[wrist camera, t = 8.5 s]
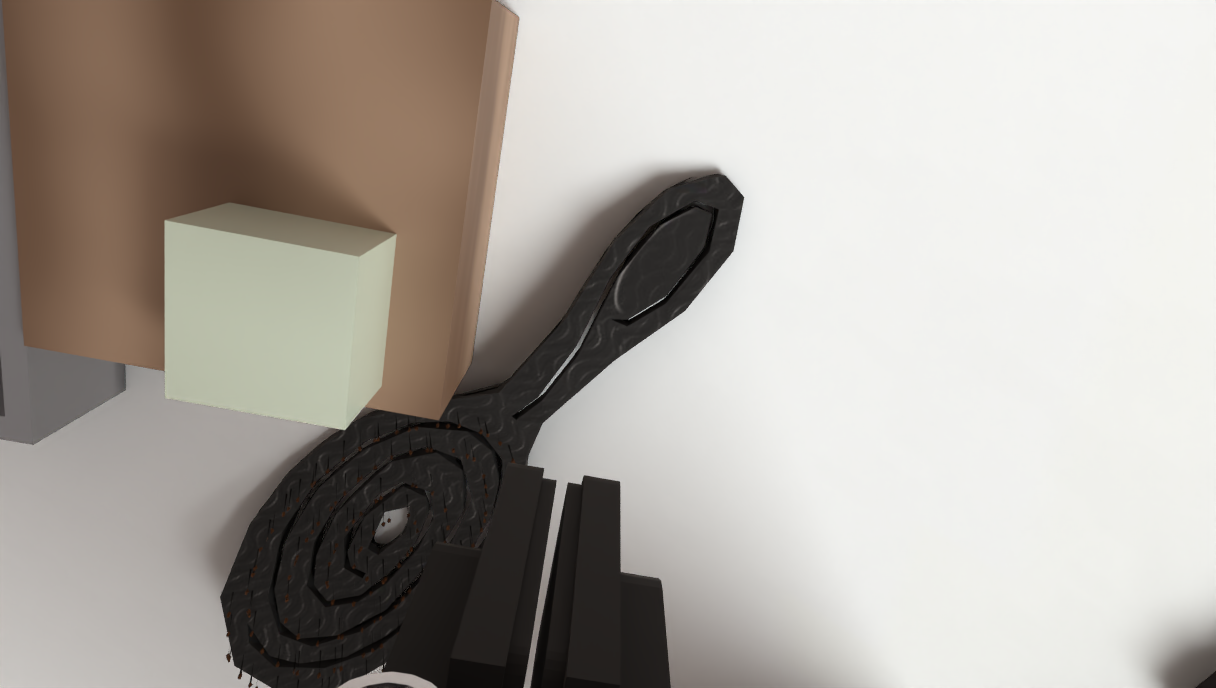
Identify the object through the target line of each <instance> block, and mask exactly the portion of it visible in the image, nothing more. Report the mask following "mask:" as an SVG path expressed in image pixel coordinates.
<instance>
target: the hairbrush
mask: <svg viewBox="0 0 1216 688" xmlns="http://www.w3.org/2000/svg"><path fill="white" fill-rule="evenodd" d="M689 179H690V178H689ZM686 180H688V179H686ZM686 180H684V181H682V182H680V183H678V184H676V185H674V186H672V187H670V188H668V189H666V190H665V191H663V192H662V193H661V194H660V195H659V196H658V197H656V198H655V199H654V200H653V201H652V202H651V203H649V204H648V205H647V206H646V207H645V208H643V209H642V210H641V211H640V212H639V213H638V214H637V215H636V216H635V217H634V218H633V219H632V220H631V221H630V222H629V224H628V225H627V226H626V227H625V228H624V229H623V230H622V231H621V232H620V233H619V234H618V235H617V237H616V238H615V239H614V240H613V242H612V243H611V244H610V246H609V247H608V248H607V250H606V251H605V253H604V254H603V256H602V258H601V259H600V261H599V263H598V264H597V266H596V267H595V269H594V270H593V272H592V273H591V275H590V276H589V278H588V279H587V281H586V282H585V284H584V285H583V287H582V289H581V290H580V292H579V294H578V295H577V297H576V298H575V300H574V302H573V303H572V305H571V307H570V308H569V310H568V311H567V313H566V315H565V316H564V317H563V319H562V320H561V321H560V322H559V324H558V325H557V326H556V327H555V328H554V329H553V330H552V331H551V332H550V334H549V335H548V336H547V337H546V338H545V339H544V340H543V341H542V343H541V344H540V345H539V346H538V347H537V348H536V349H535V350H534V352H533V353H532V354H531V355H530V356H529V357H528V358H527V359H526V361H525V362H524V363H523V364H522V365H521V366H520V367H519V368H518V370H517V371H516V372H515V373H514V374H513V375H512V376H511V377H510V378H509V379H507V380H506V381H505V382H503V383H501V384H497V385H493V386H490V387H486V388H482V389H478V390H474V391H471V392H467V393H463V394H456V395H453V396H452V398H451V400H450V401H449V403H448V405H447V407H446V408H445V410H444V412H443V414H442V415H441V417H440V419H439V420H434V419H429V418H423V417H418V416H412V415H407V414H401V413H395V412H390V411H384V410H377V411H373V412H371V413H369V414H368V415H366V416H364V417H362V418H360V419H358V420H357V421H355V422H353V423H352V424H350V425H349V426H348V427H347V428H346V430H340V431H338V432H337V433H335V434H333V435H332V436H330V437H329V438H328V439H326V440H325V441H323V442H322V443H321V444H319V445H318V446H317V447H316V448H315V449H314V450H313V451H312V452H311V453H309V454H308V455H307V456H306V457H305V458H304V459H303V460H302V461H301V462H299V463H298V464H297V465H296V466H295V467H294V468H293V469H292V470H291V471H290V472H289V473H288V474H287V475H286V476H285V478H284V479H283V480H282V482H281V483H280V484H279V486H278V487H277V488H276V490H275V491H274V492H273V494H272V495H271V497H270V498H269V499H268V501H267V502H266V503H265V504H264V506H263V507H262V508H261V509H260V510H259V513H258V514H257V516H256V517H255V518H254V520H253V521H252V522H251V524H250V525H249V528H248V530H247V533H246V535H245V538H244V540H243V543H242V545H241V547H240V550H239V552H238V555H237V557H236V560H235V562H234V565H233V567H232V570H231V572H230V574H229V577H228V579H227V582H226V584H225V587H224V589H223V592H222V594H221V596H220V598H221V603H222V608H223V613H224V617H225V622H226V627H227V632H228V633H227V635H226V636H227V637H229V642H230V646H231V651H232V656H233V661H234V666H236V667H238V668H239V669H241V670H240V674H239V676H238V679H241V677H242V670H243V671H244V672H246V673H248V674H249V675H251V679H250V683H249V685H248V686H249V688H250V687H251V686H252V685H253V684H252V683H251V681H252V676H253V677H254V678H256V679H257V681H258V680H259V681H261V682H263V683H265V684H266V685H268V686H270V687H271V688H338V687H339V686H341V685H343V684H344V683H346V682H348V681H349V680H352V679H355V678H358V677H361V676H364V675H367V674H368V673H369V672H371V671H373V670H374V669H376V668H378V667H379V666H381V665H382V664H383V669H382V673H383V670H384V663H386V662H387V660H388V658H389V655H390V653H391V650H392V648H393V645H394V643H395V640H396V638H397V635H398V633H399V630H400V628H401V625H402V623H403V620H404V618H405V615H406V613H407V610H408V608H409V605H410V603H411V600H412V598H413V595H414V593H415V590H416V588H417V586H418V583H419V581H420V579H419V578H420V577H421V576H422V575H421V576H420V577H419V578H418V579H419V580H418V579H417V580H416V581H415V582H414V584H413V585H414V586H413V585H412V586H413V587H412V586H411V587H410V588H409V589H408V591H407V592H406V593H405V594H404V595H403V591H404V590H405V589H406V587H407V586H408V585H409V584H410V583H411V582H412V581H413V580H414V579H415V578H416V577H417V576H418V575H419V573H420V572H421V571H422V573H423V569H424V568H425V566H426V563H427V561H428V558H429V556H430V553H431V551H432V548H433V546H434V544H435V543H436V542H443V543H446V540H445V539H446V538H447V536H448V535H449V533H450V532H451V530H452V528H453V527H454V525H455V524H456V522H457V521H458V519H459V517H460V516H461V514H462V513H463V509H464V504H465V499H466V494H467V489H466V479H465V475H466V478H467V482H468V485H469V488H470V492H471V495H472V501H471V503H470V505H469V507H468V509H467V511H466V513H465V515H464V517H463V519H462V521H461V524H460V526H459V528H458V530H457V532H456V534H455V536H454V538H453V539H452V540H451V542H450V543H449V544H455V545H461V546H467V547H473V548H474V547H475V543H476V542H477V540H478V538H479V536H480V535H481V533H482V532H483V530H484V528H485V526H486V524H487V523H488V521H489V519H490V517H491V514H492V510H493V507H494V504H495V501H496V497H497V494H498V493H497V490H498V491H499V489H498V483H499V485H500V479H501V468H502V477H504V474H505V470H506V467H507V464H508V462H510V463H515V464H521V465H528V456H529V453H530V450H531V448H532V446H533V444H534V441H535V439H536V437H537V435H538V432H539V430H540V428H541V426H542V423H543V422H544V421H545V420H547V419H548V418H549V417H550V416H551V415H552V414H553V413H555V412H556V411H557V410H558V409H559V408H560V407H562V406H563V405H564V404H565V403H566V402H567V401H568V400H570V399H571V398H572V397H573V396H574V395H575V394H576V393H578V392H579V391H580V390H581V389H582V388H583V387H584V386H586V385H587V384H588V383H589V382H590V381H591V380H592V379H594V378H595V377H596V376H597V375H598V374H599V373H600V372H602V371H603V370H604V369H605V368H606V367H607V366H609V365H610V364H611V363H612V362H613V361H614V360H616V359H617V358H619V357H620V356H621V355H623V354H624V353H626V352H627V351H629V350H630V349H631V348H633V347H634V346H636V345H637V344H638V343H640V342H641V341H643V340H644V339H646V338H647V337H648V336H650V335H651V334H653V333H654V332H656V331H657V330H658V329H660V328H661V327H663V326H664V325H665V324H667V323H668V322H670V321H671V320H673V319H674V318H675V317H677V316H678V315H680V314H681V313H683V312H684V311H685V310H686V309H687V308H688V306H689V305H690V304H691V303H692V301H693V300H694V299H695V298H696V297H697V295H698V294H699V293H700V292H701V290H702V289H703V288H704V287H705V285H706V284H707V283H708V282H709V280H710V279H711V278H712V277H713V276H714V274H715V273H716V272H717V271H718V269H719V268H720V267H721V266H722V264H723V263H724V262H725V261H726V259H727V258H728V257H729V256H730V255H731V253H732V252H733V250H734V245H735V240H736V235H737V230H738V225H739V220H740V215H741V210H742V205H743V200H744V197H743V195H742V194H741V193H740V192H739V191H738V190H737V189H736V187H735V186H734V185H733V184H732V183H731V182H730V180H729V179H728V178H727V177H726V176H725V175H720V174H714V175H709V176H706V177H703V178H700V179H697V180H694V181H691V182H688V183H685V184H682V183H683V182H685V181H686ZM680 184H682V185H680ZM693 201H696V202H701V203H703V204H706V205H709V206H711V207H714V220H713V223H712V227H711V230H710V233H709V237H708V242H707V246H706V247H705V249H704V250H703V252H702V253H701V254H700V256H699V257H698V259H697V260H696V261H695V263H694V264H693V265H692V266H691V268H690V269H689V270H688V271H687V272H686V274H685V275H684V276H683V277H682V278H681V276H682V275H683V274H684V272H685V271H686V270H687V269H688V267H689V266H690V265H691V263H692V262H693V261H694V260H695V258H696V257H697V256H698V254H699V253H700V252H701V251H702V249H703V248H704V245H705V241H706V237H707V233H708V229H709V224H710V220H711V216H712V214H711V213H709V212H708V211H705V210H703V209H702V208H701V209H700V207H699V208H697V207H698V206H697V207H695V206H694V207H691V206H690V207H688V208H687V209H684V210H681V211H678V210H679V209H681V208H683V207H685V206H686V205H688V204H690V203H691V202H693ZM676 211H678V212H676ZM674 212H675V213H674ZM672 213H674V214H672ZM671 214H672V215H671ZM669 215H670V216H669ZM667 216H669V217H667ZM665 217H667V218H666V219H665V220H664V221H663V222H662V223H661V224H660V225H659V226H658V227H657V228H656V229H655V230H654V231H653V232H652V233H650V234H649V235H648V236H647V237H645V238H644V239H643V240H642V241H641V242H639V243H638V245H637V246H636V248H635V249H634V250H633V251H632V252H631V250H632V249H633V248H634V246H635V245H636V244H637V242H638V241H639V240H640V238H641V237H642V236H643V235H644V233H645V232H646V231H647V229H648V228H649V227H650V226H652V225H653V224H655V223H657V222H658V221H660V220H662V219H664V218H665ZM713 229H714V233H713ZM712 233H713V236H712ZM630 252H631V253H630ZM629 253H630V254H629ZM628 254H629V255H628ZM627 255H628V257H627ZM626 257H627V258H626ZM625 258H626V260H625V262H624V264H623V266H622V268H621V270H620V272H619V273H618V275H617V277H616V279H615V281H614V283H613V285H612V287H611V289H610V290H609V292H608V294H607V296H606V297H605V299H604V301H603V303H602V305H601V307H600V309H599V311H598V313H597V315H596V317H595V319H594V321H593V323H592V325H591V327H590V329H589V331H588V333H587V335H586V337H585V339H584V341H583V343H582V345H581V347H580V348H579V349H578V351H577V352H576V353H575V355H574V356H573V358H572V359H571V360H570V361H569V363H568V364H567V365H566V366H565V368H564V369H563V370H562V372H561V373H560V374H559V375H558V377H557V378H556V379H555V380H554V382H553V383H552V384H551V385H550V387H549V388H548V389H547V390H546V392H545V393H544V394H543V395H541V396H540V397H539V398H538V396H539V395H540V394H541V392H542V391H543V390H544V388H545V387H546V386H547V384H548V383H549V382H550V380H551V379H552V378H553V376H554V375H555V374H556V372H557V371H558V370H559V368H560V367H561V366H562V364H563V363H564V362H565V360H566V359H567V358H568V356H569V355H570V354H571V352H572V351H573V350H574V348H575V347H576V346H577V344H578V342H579V340H580V338H581V336H582V334H583V332H584V330H585V328H586V326H587V324H588V322H589V320H590V318H591V316H592V314H593V312H594V310H595V308H596V306H597V304H598V302H599V300H600V298H601V296H602V294H603V292H604V290H605V288H606V286H607V284H608V282H609V280H610V278H611V277H612V275H613V274H614V273H615V271H616V270H617V269H618V267H619V266H620V265H621V263H622V262H623V261H624V259H625ZM680 278H681V280H680V281H679V282H678V283H677V281H678V280H679V279H680ZM676 283H677V284H676ZM675 284H676V286H675V287H674V285H675ZM673 287H674V288H673ZM672 288H673V289H672ZM671 289H672V290H671ZM670 290H671V292H670ZM669 292H670V293H669ZM668 293H669V294H668ZM667 294H668V295H667ZM665 296H666V298H664V299H663V300H661V301H660V302H659V303H657V304H655V305H653V306H652V307H650V308H648V309H647V310H645V311H643V312H642V313H640V314H638V313H639V312H641V311H642V310H644V309H646V308H647V307H649V306H650V305H652V304H654V303H655V302H657V301H659V300H660V299H662V298H663V297H665ZM636 314H638V315H637V316H635V317H633V316H634V315H636ZM631 317H633V318H631ZM629 318H631V319H630V320H628V319H629ZM536 398H537V399H536ZM535 399H536V400H535ZM533 400H535V401H533ZM532 401H533V402H532ZM531 402H532V403H531ZM529 403H531V404H529ZM528 404H529V405H528ZM527 405H528V406H527ZM525 406H527V407H525ZM524 407H525V408H524ZM522 408H524V409H523V410H521V409H522ZM520 410H521V411H520ZM518 411H520V412H518ZM444 421H450V422H452V423H448V422H444ZM414 422H424V423H419V424H415V425H413V426H412V425H411V426H410V425H409V424H411V423H414ZM406 425H408V427H404V428H402V429H400V430H398V428H401V427H403V426H406ZM393 430H396V431H395V432H393V433H391V434H389V435H387V436H385V437H383V438H381V439H380V437H379V436H380V435H383V434H386V433H388V432H391V431H393ZM375 437H377V440H376V438H375ZM373 438H375V439H374V440H373V442H374V443H372V444H370V445H369V446H367V447H365V448H364V449H362V447H361V445H362V444H363V443H364V442H365V441H368V440H370V439H373ZM424 447H427V449H425V448H424ZM428 447H429V448H430V449H429V448H428ZM357 448H358V451H359V452H358V453H357V454H355V455H354V456H353V457H352V458H350V459H349V460H348V461H347V462H345V463H344V464H343V465H341V466H340V467H339V468H338V469H336V470H335V471H334V473H333V474H332V475H331V476H330V477H329V478H328V479H327V480H326V481H325V482H324V483H323V484H322V485H321V486H320V487H319V488H318V489H317V490H316V492H315V493H314V494H313V496H312V497H311V498H310V500H309V502H308V503H307V505H306V507H305V509H304V510H303V512H302V514H301V515H300V517H299V519H298V521H297V522H296V524H295V526H294V527H293V529H292V531H291V532H290V534H289V536H288V538H287V535H288V533H289V531H290V529H291V527H292V524H293V522H294V520H295V518H296V516H297V513H298V511H299V509H300V507H301V505H302V502H303V501H304V499H305V498H306V496H307V495H308V493H309V492H310V490H311V489H312V488H313V486H314V485H315V484H316V482H317V481H318V480H319V479H320V478H321V477H322V476H323V475H324V474H328V472H329V471H330V470H331V469H332V468H333V467H334V466H336V465H337V464H338V463H339V462H341V461H343V462H344V461H345V458H346V457H347V456H348V455H349V454H350V453H352V452H353V451H354V450H355V449H357ZM420 448H421V449H420ZM361 449H362V450H361ZM417 449H418V450H417ZM434 449H435V450H434ZM413 450H415V451H413ZM405 452H409V453H406V454H402V453H405ZM398 454H402V455H399V456H397V457H396V458H394V459H393V456H394V455H398ZM497 454H498V455H499V456H500V457H501V459H502V467H501V464H500V461H499V466H498V462H497V458H496V456H497V457H498V455H497ZM387 457H390V459H391V461H390V462H389V463H387V464H386V465H385V466H383V467H382V468H380V469H379V470H378V471H376V472H375V473H374V474H373V475H372V476H371V477H370V478H369V479H368V480H367V481H366V482H365V483H364V484H363V485H362V486H361V487H360V488H359V489H358V490H357V491H356V492H355V493H354V494H353V495H352V496H351V497H350V498H349V499H348V500H347V501H346V502H345V503H344V504H343V506H342V507H341V508H340V509H339V511H338V512H337V513H336V515H335V517H334V519H333V521H332V523H331V525H330V527H329V529H328V531H327V533H326V535H325V537H324V539H323V541H322V543H321V540H322V536H323V532H324V528H325V525H326V523H327V521H328V519H329V518H330V516H331V514H332V512H333V510H334V508H335V507H336V505H337V504H338V502H339V501H340V500H341V498H342V497H343V496H344V495H346V493H347V492H348V491H350V490H351V489H352V488H353V487H354V486H355V485H356V484H358V483H359V482H360V481H361V480H362V479H363V478H364V477H366V476H367V475H368V474H369V473H370V472H371V471H372V470H375V469H377V466H378V465H379V464H380V463H382V462H383V461H384V460H385V459H386V458H387ZM456 457H457V458H459V459H460V460H461V462H462V464H461V463H460V462H459V461H458V460H457V459H456ZM392 459H393V460H392ZM498 459H499V458H498ZM401 482H403V483H404V484H403V485H401V486H399V487H398V488H396V489H392V491H391V492H390V493H388V494H386V495H385V496H383V497H382V496H381V495H380V497H379V500H377V495H379V494H381V493H382V492H384V491H386V490H388V489H390V488H391V487H393V486H395V485H397V484H399V483H401ZM425 490H426V491H429V492H431V501H432V511H433V518H432V521H431V524H430V526H429V528H428V530H427V532H426V534H425V536H424V537H423V539H422V540H421V541H420V543H419V544H418V546H416V548H415V550H413V547H412V546H413V545H414V544H415V542H416V540H417V538H418V536H419V534H420V532H421V529H422V527H423V524H424V522H425V520H426V518H427V516H428V513H429V510H430V508H431V505H430V502H429V500H428V497H427V495H426V492H425ZM375 498H376V499H375ZM374 499H375V500H374ZM373 500H374V501H375V505H374V506H373V507H372V508H371V510H370V511H369V512H368V513H367V515H366V516H365V518H364V519H363V521H362V522H361V524H360V526H359V527H358V529H357V531H356V533H355V535H354V538H353V540H352V542H351V545H350V547H349V544H350V541H351V536H352V532H353V528H352V527H354V525H355V523H356V522H357V521H358V519H359V518H360V517H361V516H362V515H363V513H364V512H365V510H366V509H367V508H368V507H369V505H370V504H371V503H372V502H373ZM409 506H410V510H409V513H408V514H407V517H408V522H407V524H406V527H405V529H404V531H403V533H402V535H401V536H399V535H400V534H399V535H398V536H399V537H398V536H397V537H398V538H397V537H396V538H395V539H394V540H393V541H391V542H390V543H388V544H387V545H385V546H383V547H382V548H379V547H378V546H376V545H379V544H378V543H377V542H376V541H374V537H373V536H374V534H375V533H376V532H375V531H376V529H377V527H378V525H379V523H380V520H381V518H382V516H383V523H382V524H381V525H382V526H384V525H385V522H384V512H387V511H391V510H396V509H400V508H404V507H409ZM389 522H391V519H390V518H388V523H389ZM351 528H352V530H351ZM350 530H351V532H350ZM286 538H287V539H286ZM372 538H373V543H372V542H371V540H372ZM485 539H486V537H485ZM485 539H484V540H483V542H482V543H481V545H480V546H479V549H483V545H484V542H485ZM285 540H286V541H285ZM284 542H285V546H284V550H283V555H282V546H283V544H284ZM320 544H321V545H320ZM348 547H349V549H348ZM409 550H410V552H413V553H412V554H410V555H409V553H408V551H409ZM406 553H407V554H406ZM405 554H406V557H408V556H409V557H408V558H407V559H406V560H405V561H404V562H403V563H402V564H400V560H401V559H402V558H403V557H404V555H405ZM281 555H282V559H281ZM398 562H399V563H398ZM315 565H316V566H315ZM396 565H398V567H397V568H398V569H397V568H395V569H394V570H393V571H392V569H393V568H394V567H395V566H396ZM396 569H397V570H396ZM395 570H396V571H395ZM390 571H391V572H390ZM394 571H395V572H394ZM389 572H390V573H389ZM393 572H394V573H393ZM388 573H389V574H388ZM387 574H388V575H387ZM385 575H387V576H386V577H384V576H385ZM382 578H383V579H382ZM380 579H382V580H381V581H380V582H379V583H377V584H376V585H374V584H375V583H376V582H378V581H379V580H380ZM401 593H402V597H401V598H399V599H398V600H397V599H396V598H397V597H398V596H399V595H400V594H401ZM394 600H395V601H394ZM229 649H230V648H229ZM231 651H230V653H228V654H227V655H226V658H227V660H228V662H230V659H231V656H230V654H231ZM255 688H258V687H257V686H256V687H255Z"/></svg>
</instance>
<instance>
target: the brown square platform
mask: <svg viewBox="0 0 1216 688" xmlns="http://www.w3.org/2000/svg"><path fill="white" fill-rule="evenodd" d="M2 10H3V26H4V41H5V57H6V72H7V88H8V104H9V119H10V135H11V151H12V166H13V182H14V198H15V213H16V229H17V244H18V260H19V276H20V291H21V307H22V323H23V338H24V346H28V347H33V348H39V349H45V350H50V351H56V352H61V353H67V354H72V355H78V356H84V357H89V358H95V359H100V360H106V361H111V362H117V363H123V364H128V365H134V366H139V367H145V368H150V369H156V370H162V371H165V220H167V219H171V218H175V217H178V216H182V215H186V214H189V213H193V212H197V211H200V210H204V209H208V208H211V207H215V206H219V205H222V204H226V203H229V202H230V203H235V204H241V205H246V206H251V207H257V208H262V209H267V210H272V211H278V212H283V213H288V214H294V215H299V216H304V217H310V218H315V219H320V220H325V221H331V222H336V223H341V224H347V225H352V226H357V227H362V228H368V229H373V230H378V231H384V232H389V233H394V234H397V236H396V246H395V256H394V266H393V276H392V286H391V296H390V307H389V317H388V327H387V337H386V347H385V357H384V367H383V378H382V386H381V388H380V389H379V390H378V391H377V392H376V394H375V395H374V396H373V397H372V398H371V400H370V401H369V402H368V403H367V404H366V406H365V407H368V408H373V409H379V410H384V411H390V412H395V413H401V414H407V415H412V416H418V417H423V418H429V419H434V420H439V419H440V417H441V415H442V414H443V412H444V410H445V408H446V407H447V405H448V403H449V401H450V400H451V398H452V396H453V394H454V393H455V391H456V389H457V387H458V386H459V384H460V382H461V380H462V379H463V377H464V375H465V373H466V372H467V370H468V368H469V366H470V365H471V363H472V357H473V350H474V342H475V335H476V328H477V321H478V313H479V306H480V299H481V292H482V284H483V277H484V270H485V263H486V256H487V248H488V241H489V234H490V227H491V219H492V212H493V205H494V198H495V191H496V183H497V176H498V169H499V162H500V154H501V147H502V140H503V133H504V125H505V118H506V111H507V104H508V97H509V89H510V82H511V75H512V68H513V60H514V53H515V46H516V39H517V32H518V24H519V17H518V16H516V15H515V14H514V13H512V12H511V11H509V10H508V9H507V8H505V7H504V6H503V5H501V4H500V3H499V2H497V1H496V0H2Z"/></svg>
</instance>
